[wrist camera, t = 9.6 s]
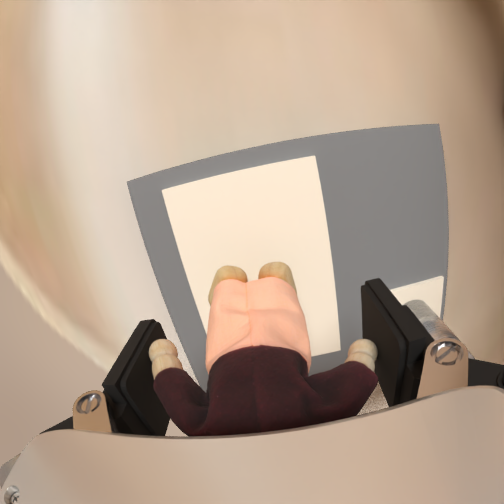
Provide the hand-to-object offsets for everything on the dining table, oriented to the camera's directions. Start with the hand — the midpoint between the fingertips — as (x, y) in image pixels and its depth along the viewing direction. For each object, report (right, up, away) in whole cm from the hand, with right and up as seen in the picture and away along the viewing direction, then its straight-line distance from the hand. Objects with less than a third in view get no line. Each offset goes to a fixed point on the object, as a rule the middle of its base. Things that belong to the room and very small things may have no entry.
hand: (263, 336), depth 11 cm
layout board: (+3, +2, +7) cm, 8 cm away
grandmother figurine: (0, +1, +4) cm, 4 cm away
